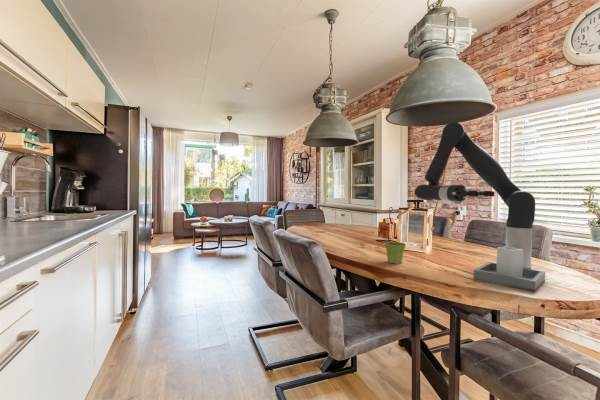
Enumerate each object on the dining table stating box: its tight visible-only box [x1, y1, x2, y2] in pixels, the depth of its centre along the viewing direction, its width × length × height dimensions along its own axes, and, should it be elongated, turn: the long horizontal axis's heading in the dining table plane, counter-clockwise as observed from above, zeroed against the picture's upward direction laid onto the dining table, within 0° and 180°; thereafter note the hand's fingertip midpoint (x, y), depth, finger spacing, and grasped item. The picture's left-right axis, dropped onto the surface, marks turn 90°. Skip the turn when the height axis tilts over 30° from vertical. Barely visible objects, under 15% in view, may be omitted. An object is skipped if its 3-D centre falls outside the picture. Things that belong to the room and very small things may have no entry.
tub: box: [496, 246, 523, 278], centre depth 105 cm, size 6×6×11 cm
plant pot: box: [383, 241, 407, 265], centre depth 130 cm, size 9×9×9 cm
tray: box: [473, 261, 546, 293], centre depth 106 cm, size 18×18×4 cm
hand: (486, 193), depth 114 cm, fingers open, 8 cm apart
